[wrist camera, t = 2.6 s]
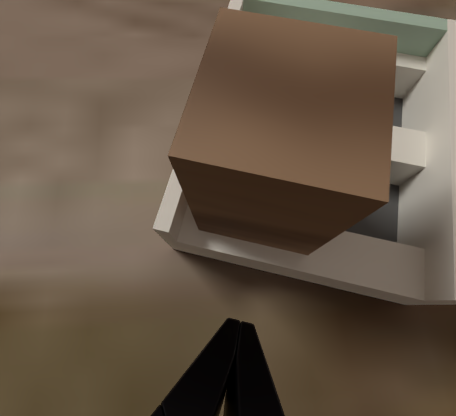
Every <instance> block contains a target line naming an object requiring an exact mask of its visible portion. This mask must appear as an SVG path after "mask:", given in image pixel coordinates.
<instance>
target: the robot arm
mask: <svg viewBox="0 0 456 416" xmlns="http://www.w3.org/2000/svg"><path fill="white" fill-rule="evenodd" d="M225 393H226V395H225ZM224 397H225V404H224V415H223V416H285V415H284V412H283V409H282V406H281V403H280V400H279V397H278V394H277V391H276V388H275V385H274V383H273V380H272V377H271V374H270V371H269V368H268V365H267V362H266V359H265V356H264V353H263V350H262V347H261V344H260V341H259V338H258V335H257V332H256V329H255V327H254V325H253V324H252V323H248V322H244V321H242V322H241V323H240V321H239V320H236V319H232V318H228V319H226V321H225V322H224V323H223V325H222V326H221V327H220V328H219V330H218V331H217V332H216V333H215V335H214V336H213V337H212V339H211V340H210V341H209V342H208V344H207V345H206V346H205V347H204V349H203V350H202V351H201V353H200V354H199V355H198V356H197V358H196V359H195V360H194V362H193V363H192V364H191V365H190V367H189V368H188V369H187V370H186V372H185V373H184V374H183V376H182V377H181V378H180V379H179V381H178V382H177V383H176V384H175V386H174V387H173V388H172V390H171V391H170V392H169V393H168V395H167V396H166V397H165V399H164V400H163V401H162V402H161V405H159V406H158V407H157V408H156V410H155V411H154V412H153V414H152V415H151V416H219V414H220V410H221V407H222V404H223V400H224Z"/></svg>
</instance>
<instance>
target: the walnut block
mask: <svg viewBox="0 0 456 416" xmlns="http://www.w3.org/2000/svg"><path fill="white" fill-rule="evenodd" d="M397 37H398V36H395V35H389V34H383V33H376V32H370V31H364V30H358V29H352V28H346V27H339V26H333V25H327V24H321V23H315V22H309V21H302V20H296V19H290V18H284V17H278V16H271V15H265V14H259V13H253V12H247V11H241V10H234V9H228V8H222V7H220V10H219V12H218V15H217V18H216V21H215V24H214V27H213V29H212V32H211V35H210V38H209V41H208V44H207V46H206V49H205V52H204V55H203V58H202V60H201V63H200V66H199V69H198V72H197V75H196V77H195V80H194V83H193V86H192V89H191V92H190V94H189V97H188V100H187V103H186V106H185V109H184V111H183V114H182V117H181V120H180V123H179V125H178V128H177V131H176V134H175V137H174V140H173V142H172V145H171V148H170V151H169V154H168V157H169V160H170V162H171V164H172V167H173V169H174V172H175V174H176V176H177V179H178V181H179V184H180V186H181V189H182V191H183V193H184V196H185V198H186V201H187V203H188V205H189V208H190V210H191V213H192V215H193V218H194V220H195V222H196V225H197V227H198V230H201V231H205V232H209V233H214V234H218V235H222V236H227V237H231V238H235V239H239V240H244V241H248V242H252V243H257V244H261V245H265V246H269V247H274V248H278V249H282V250H287V251H291V252H295V253H299V254H304V255H309V254H311V253H312V252H314V251H315V250H317V249H318V248H320V247H321V246H323V245H324V244H326V243H328V242H329V241H331V240H332V239H334V238H335V237H337V236H338V235H340V234H341V233H343V232H344V231H346V230H347V229H349V228H350V227H352V226H353V225H355V224H356V223H358V222H360V221H361V220H363V219H364V218H366V217H367V216H369V215H370V214H372V213H373V212H375V211H376V210H378V209H379V208H381V207H382V206H384V205H385V204H387V203H388V202H389V187H390V168H391V150H392V131H393V112H394V93H395V74H396V56H397Z"/></svg>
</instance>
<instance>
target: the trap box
mask: <svg viewBox="0 0 456 416" xmlns="http://www.w3.org/2000/svg"><path fill="white" fill-rule="evenodd" d="M228 9H234V10H241V11H247V12H253V13H259V14H265V15H271V16H278V17H284V18H290V19H296V20H302V21H309V22H315V23H321V24H327V25H333V26H339V27H346V28H352V29H358V30H364V31H370V32H376V33H383V34H389V35H395V36H398V37H397V56H396V74H395V93H394V112H393V131H392V150H391V168H390V187H389V202H388V203H387V204H385V205H384V206H382V207H381V208H379V209H378V210H376V211H375V212H373V213H372V214H370V215H369V216H367V217H366V218H364V219H363V220H361V221H360V222H358V223H356V224H355V225H353V226H352V227H350V228H349V229H347V230H346V231H344V232H343V233H341V234H340V235H338V236H337V237H335V238H334V239H332V240H331V241H329V242H328V243H326V244H324V245H323V246H321V247H320V248H318V249H317V250H315V251H314V252H312V253H311V254H309V255H304V254H299V253H295V252H291V251H287V250H282V249H278V248H274V247H269V246H265V245H261V244H257V243H252V242H248V241H244V240H239V239H235V238H231V237H227V236H222V235H218V234H214V233H209V232H205V231H201V230H198V227H197V225H196V222H195V220H194V218H193V215H192V213H191V210H190V208H189V205H188V203H187V201H186V198H185V196H184V193H183V191H182V189H181V186H180V184H179V181H178V179H177V176H176V174H175V172H174V169H173V170H172V173H171V176H170V179H169V182H168V185H167V188H166V191H165V194H164V197H163V200H162V203H161V205H160V208H159V211H158V214H157V217H156V220H155V223H154V226H153V229H154V230H155V231H156V232H157V233H158V234H159V235H160V236H161V237H162V238H163V239H164V240H165V241H166V242H167V243H168V244H169V245H170V246H171V247H172V248H173V249H175V250H179V251H184V252H188V253H192V254H196V255H200V256H204V257H208V258H213V259H217V260H221V261H225V262H229V263H233V264H237V265H242V266H246V267H250V268H254V269H258V270H262V271H266V272H271V273H275V274H279V275H283V276H287V277H291V278H295V279H300V280H304V281H308V282H312V283H316V284H320V285H324V286H329V287H333V288H337V289H341V290H345V291H349V292H353V293H358V294H362V295H366V296H370V297H374V298H378V299H382V300H387V301H391V302H395V303H399V304H403V305H456V20H449V19H443V18H437V17H430V16H424V15H417V14H411V13H404V12H398V11H391V10H385V9H378V8H372V7H365V6H359V5H353V4H346V3H340V2H333V1H327V0H230V3H229V6H228Z"/></svg>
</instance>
